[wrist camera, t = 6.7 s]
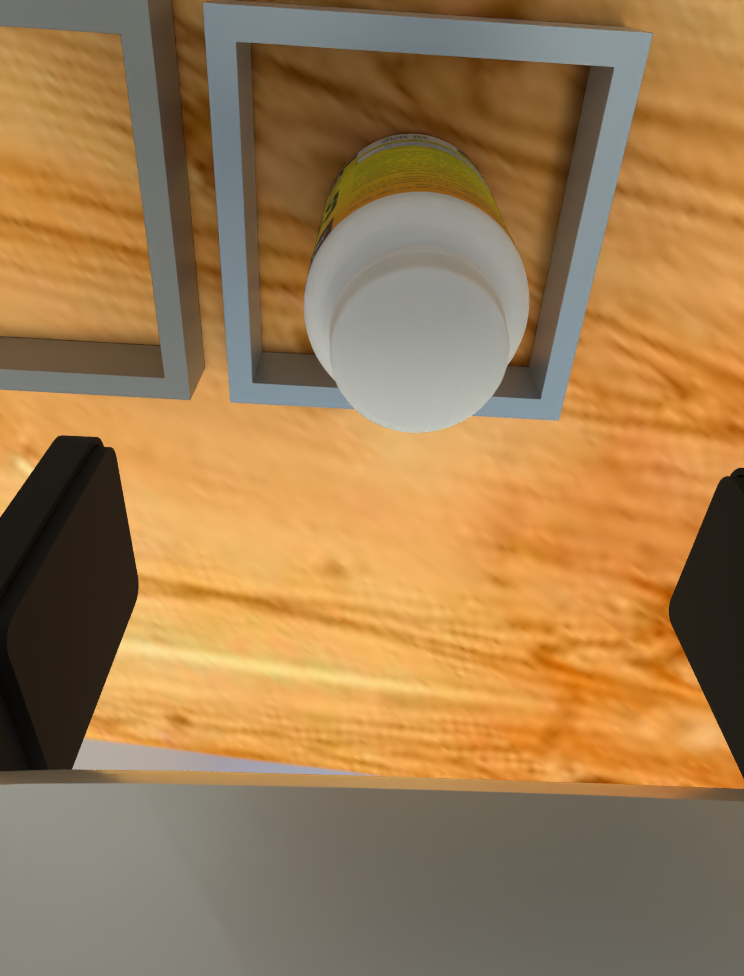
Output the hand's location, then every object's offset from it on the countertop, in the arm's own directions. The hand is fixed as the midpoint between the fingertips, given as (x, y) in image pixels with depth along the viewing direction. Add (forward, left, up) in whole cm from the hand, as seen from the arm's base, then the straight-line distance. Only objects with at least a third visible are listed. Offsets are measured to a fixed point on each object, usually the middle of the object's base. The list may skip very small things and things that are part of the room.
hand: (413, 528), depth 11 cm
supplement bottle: (0, 0, -16) cm, 16 cm away
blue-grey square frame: (0, 0, -16) cm, 16 cm away
